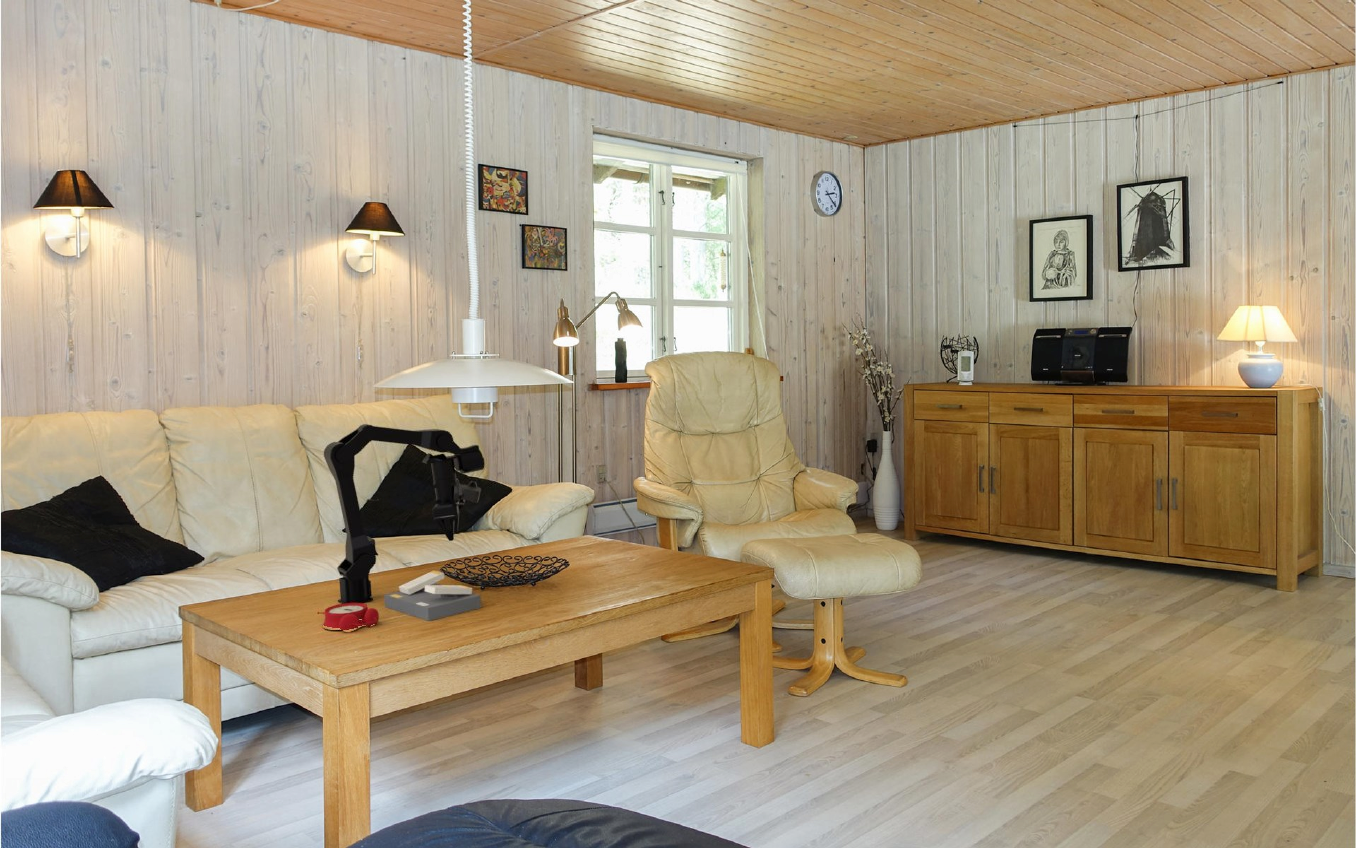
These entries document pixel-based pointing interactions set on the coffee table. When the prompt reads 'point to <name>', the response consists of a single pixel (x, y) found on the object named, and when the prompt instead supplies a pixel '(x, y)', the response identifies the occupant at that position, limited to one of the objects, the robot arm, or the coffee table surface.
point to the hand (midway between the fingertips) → (453, 536)
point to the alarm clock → (350, 616)
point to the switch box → (432, 603)
